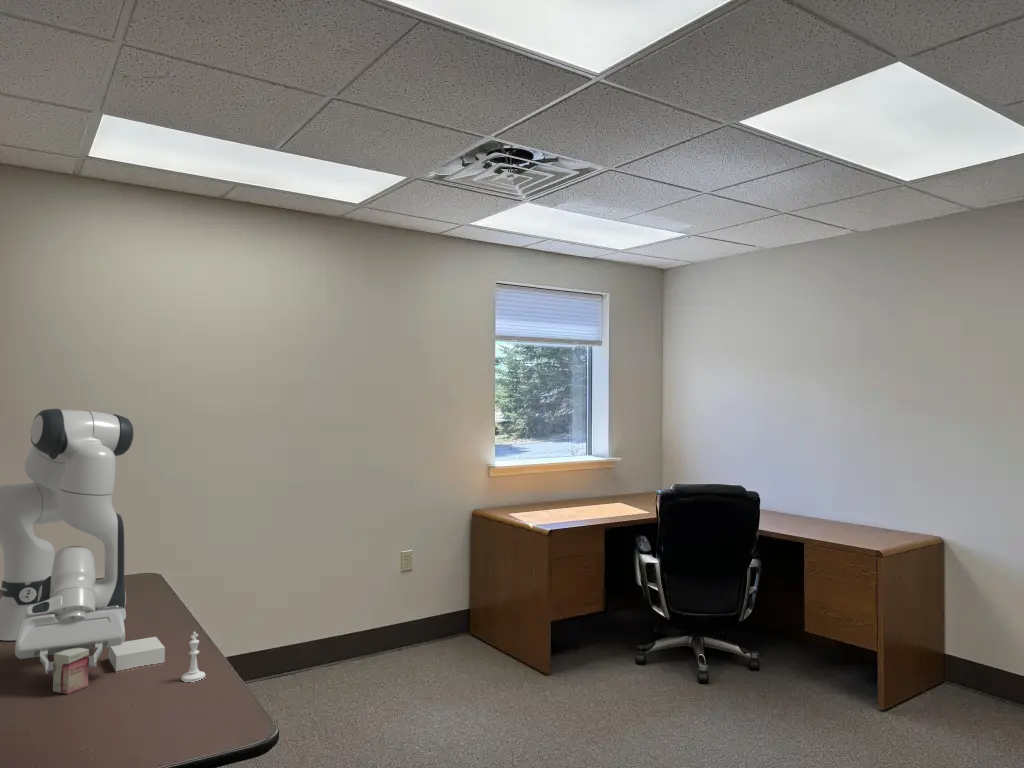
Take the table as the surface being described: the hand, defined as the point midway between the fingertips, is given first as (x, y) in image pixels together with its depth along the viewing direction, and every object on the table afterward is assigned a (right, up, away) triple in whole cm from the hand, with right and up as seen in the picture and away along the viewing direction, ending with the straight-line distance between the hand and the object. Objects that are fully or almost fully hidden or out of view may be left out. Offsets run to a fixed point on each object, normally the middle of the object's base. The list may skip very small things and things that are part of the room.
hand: (71, 668), depth 154 cm
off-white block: (+5, -5, +17) cm, 19 cm away
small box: (0, -5, 0) cm, 5 cm away
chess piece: (+23, -5, +7) cm, 24 cm away
